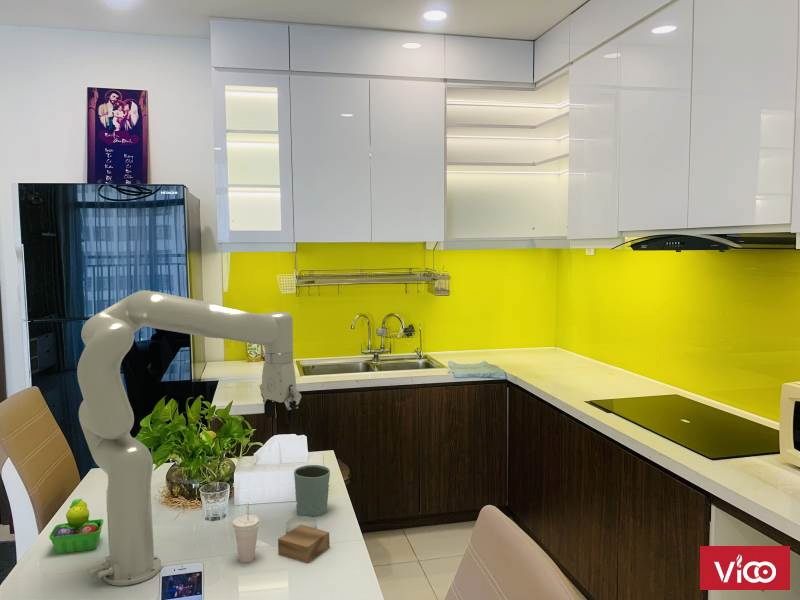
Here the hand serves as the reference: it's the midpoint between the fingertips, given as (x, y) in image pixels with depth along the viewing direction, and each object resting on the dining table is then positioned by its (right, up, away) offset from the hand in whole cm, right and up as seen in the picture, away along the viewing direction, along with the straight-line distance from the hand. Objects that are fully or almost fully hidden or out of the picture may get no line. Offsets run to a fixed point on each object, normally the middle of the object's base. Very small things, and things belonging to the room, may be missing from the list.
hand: (280, 420), depth 173 cm
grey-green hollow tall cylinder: (+8, -28, +9) cm, 30 cm away
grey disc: (+6, -29, -4) cm, 30 cm away
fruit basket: (-49, -30, -11) cm, 59 cm away
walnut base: (+9, -30, -15) cm, 34 cm away
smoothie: (-5, -31, -18) cm, 36 cm away
